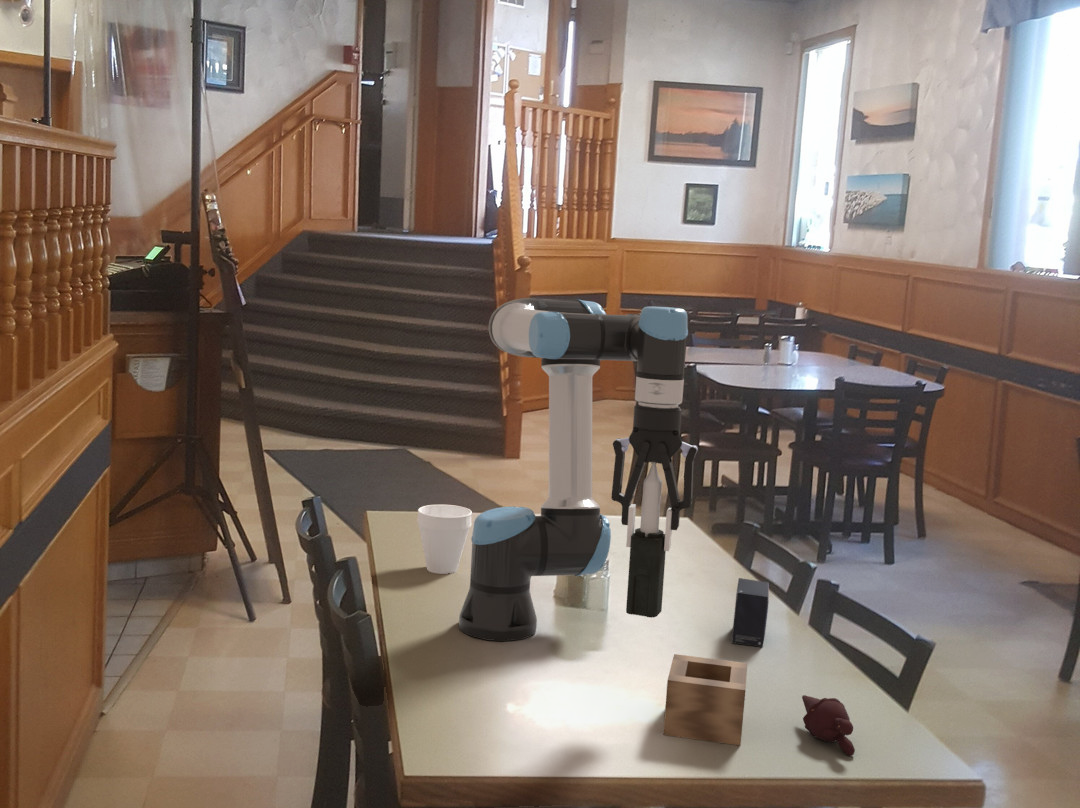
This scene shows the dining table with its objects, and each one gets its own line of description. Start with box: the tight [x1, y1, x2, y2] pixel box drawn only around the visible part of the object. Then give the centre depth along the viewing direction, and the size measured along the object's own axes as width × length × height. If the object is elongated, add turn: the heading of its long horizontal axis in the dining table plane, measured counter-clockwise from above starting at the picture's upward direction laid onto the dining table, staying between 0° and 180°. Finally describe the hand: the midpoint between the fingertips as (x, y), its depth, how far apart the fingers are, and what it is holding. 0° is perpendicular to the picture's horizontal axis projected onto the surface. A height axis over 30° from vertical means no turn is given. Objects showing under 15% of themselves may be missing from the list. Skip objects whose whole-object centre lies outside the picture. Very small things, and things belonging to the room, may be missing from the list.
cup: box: [416, 504, 473, 575], centre depth 265 cm, size 12×12×14 cm
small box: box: [731, 577, 770, 648], centre depth 232 cm, size 11×6×10 cm, turn 168°
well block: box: [662, 653, 748, 746], centre depth 188 cm, size 12×12×9 cm
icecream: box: [801, 694, 856, 757], centre depth 186 cm, size 7×7×15 cm
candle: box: [625, 462, 667, 619], centre depth 189 cm, size 5×5×25 cm
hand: (648, 546), depth 190 cm, fingers closed on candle, 5 cm apart
